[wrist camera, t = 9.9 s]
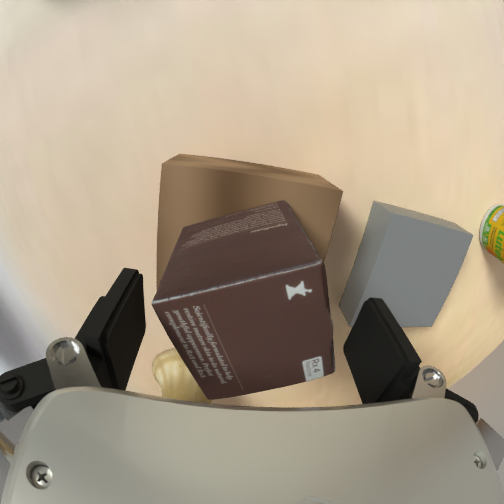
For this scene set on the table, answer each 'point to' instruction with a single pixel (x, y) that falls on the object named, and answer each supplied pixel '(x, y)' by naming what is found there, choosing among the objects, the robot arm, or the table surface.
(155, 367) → the hand bell
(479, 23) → the table surface
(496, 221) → the supplement bottle
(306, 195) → the walnut stand
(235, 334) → the box
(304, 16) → the table surface
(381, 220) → the block
